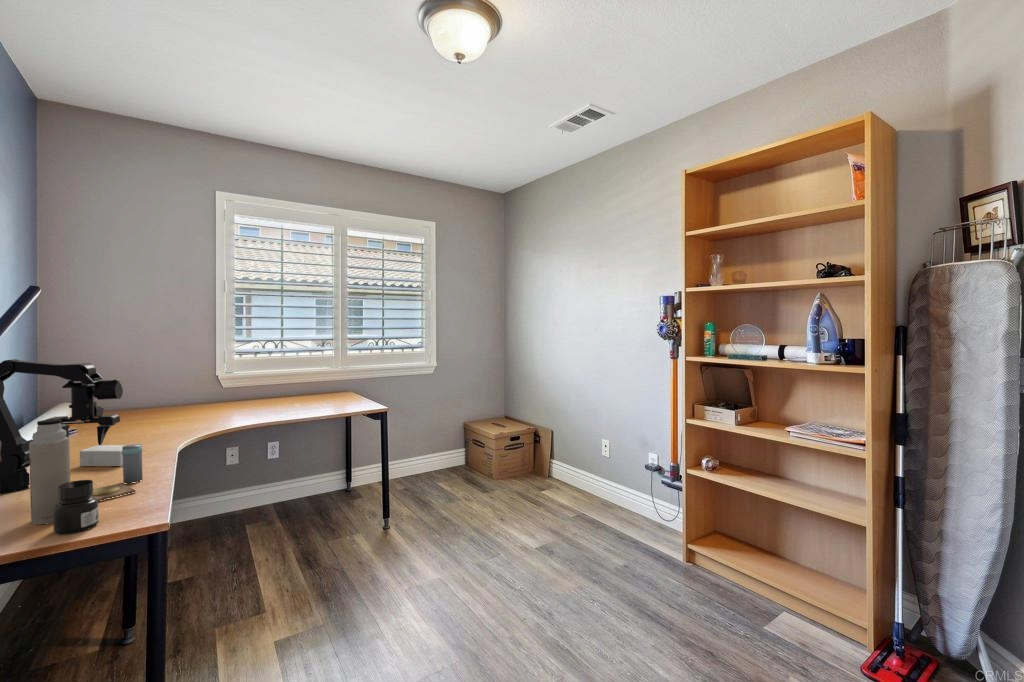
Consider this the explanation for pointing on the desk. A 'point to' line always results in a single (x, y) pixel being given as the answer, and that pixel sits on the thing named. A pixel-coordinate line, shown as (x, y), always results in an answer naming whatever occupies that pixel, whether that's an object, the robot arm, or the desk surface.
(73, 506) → the ink bottle
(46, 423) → the thermos bottle
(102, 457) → the skincare box
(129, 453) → the grey cylinder
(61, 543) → the desk surface
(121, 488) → the plate
